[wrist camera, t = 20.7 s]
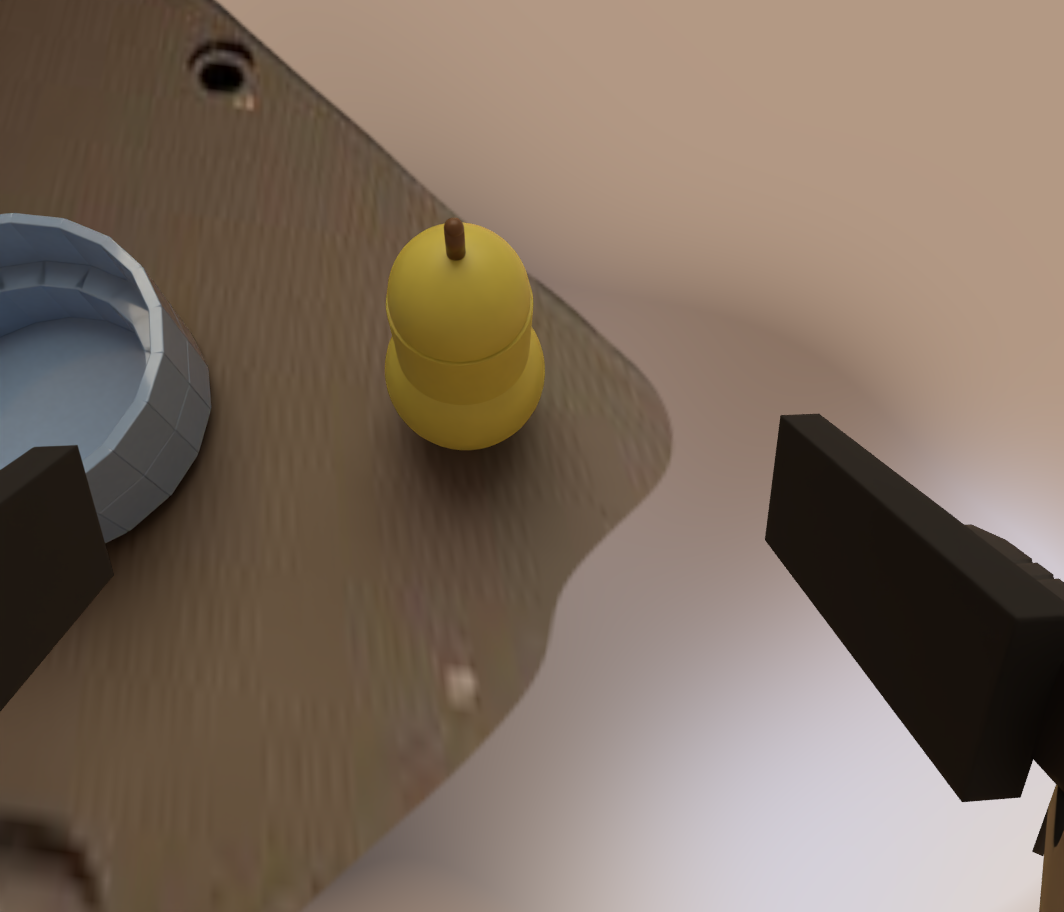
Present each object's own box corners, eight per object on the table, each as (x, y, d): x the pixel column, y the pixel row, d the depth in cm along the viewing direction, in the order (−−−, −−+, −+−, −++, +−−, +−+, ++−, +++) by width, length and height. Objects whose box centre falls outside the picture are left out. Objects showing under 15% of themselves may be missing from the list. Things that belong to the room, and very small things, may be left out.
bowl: (-166, 430, 31) (-297, 367, 26) (93, 246, 35) (24, 160, 30) (18, 638, 28) (-88, 614, 23) (277, 413, 32) (236, 349, 27)
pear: (366, 411, 32) (293, 225, 21) (465, 320, 34) (449, 104, 23) (472, 503, 31) (458, 359, 19) (569, 403, 33) (608, 217, 21)
